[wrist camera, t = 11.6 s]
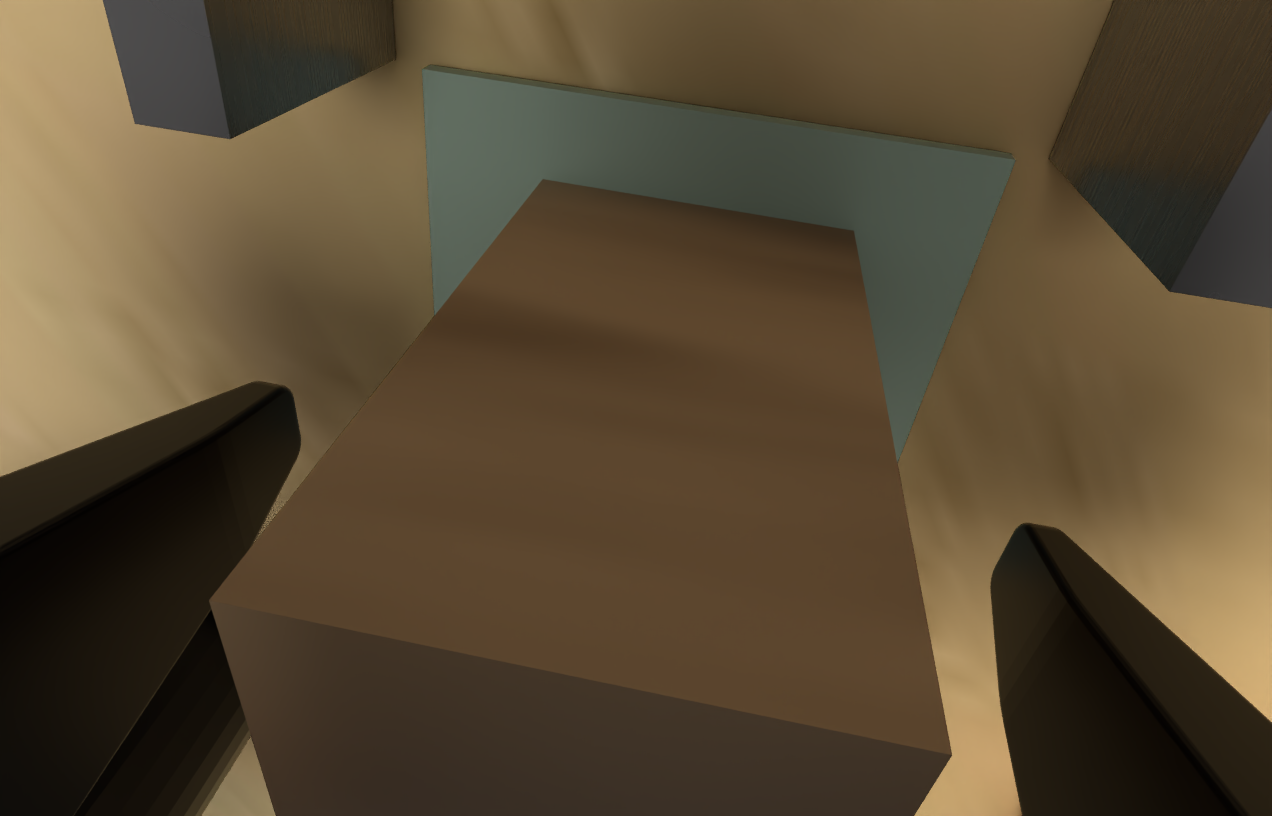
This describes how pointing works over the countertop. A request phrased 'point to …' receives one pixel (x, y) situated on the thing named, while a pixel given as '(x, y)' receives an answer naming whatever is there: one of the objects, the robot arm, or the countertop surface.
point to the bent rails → (1084, 153)
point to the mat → (722, 192)
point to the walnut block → (604, 544)
